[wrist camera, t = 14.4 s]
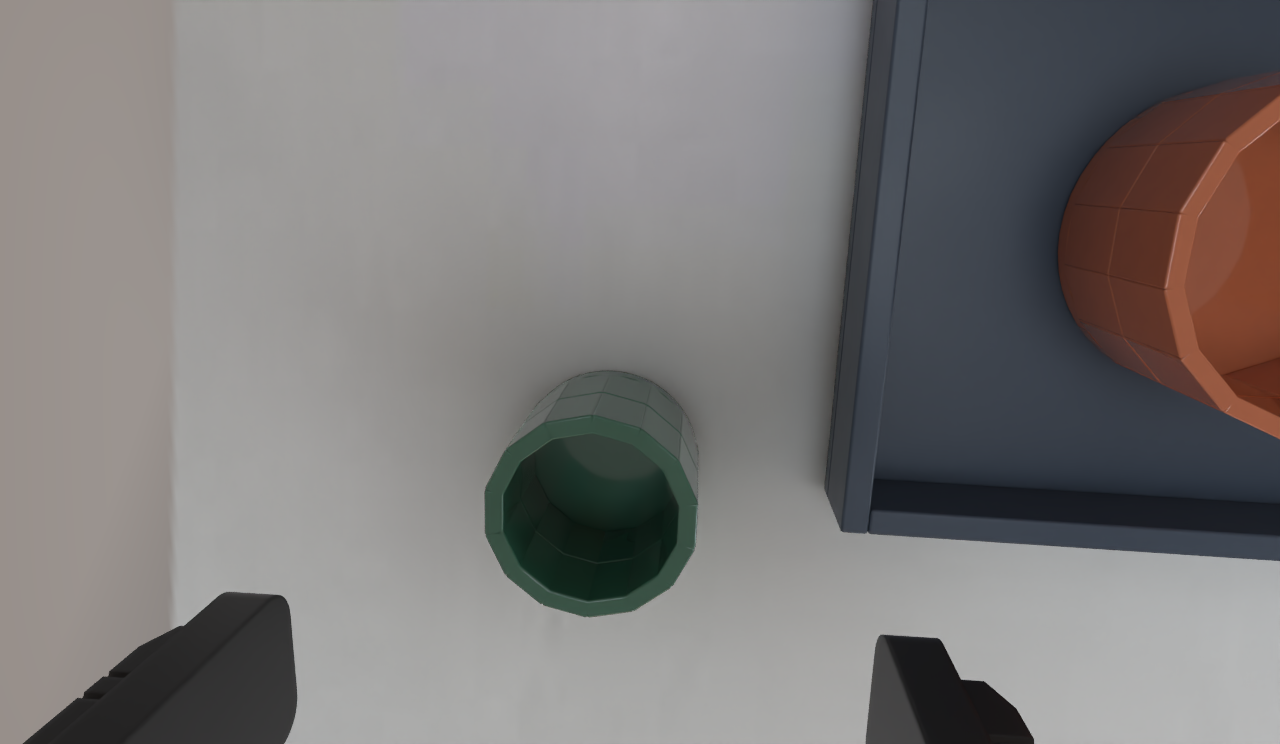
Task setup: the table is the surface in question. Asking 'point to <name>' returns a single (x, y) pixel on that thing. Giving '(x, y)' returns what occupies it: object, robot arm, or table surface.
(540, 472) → the small bowl
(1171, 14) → the tray
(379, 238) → the table surface
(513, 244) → the table surface
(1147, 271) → the big bowl
